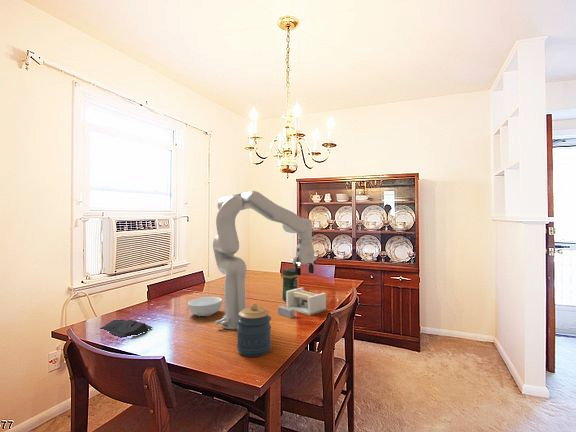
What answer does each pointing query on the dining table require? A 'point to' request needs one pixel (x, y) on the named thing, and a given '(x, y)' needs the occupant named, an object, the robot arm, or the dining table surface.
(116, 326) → the dark slate chunk
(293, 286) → the coffee jar
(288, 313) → the block
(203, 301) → the cereal bowl
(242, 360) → the dining table surface
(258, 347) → the canister
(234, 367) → the dining table surface
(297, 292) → the board
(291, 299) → the peg stand
